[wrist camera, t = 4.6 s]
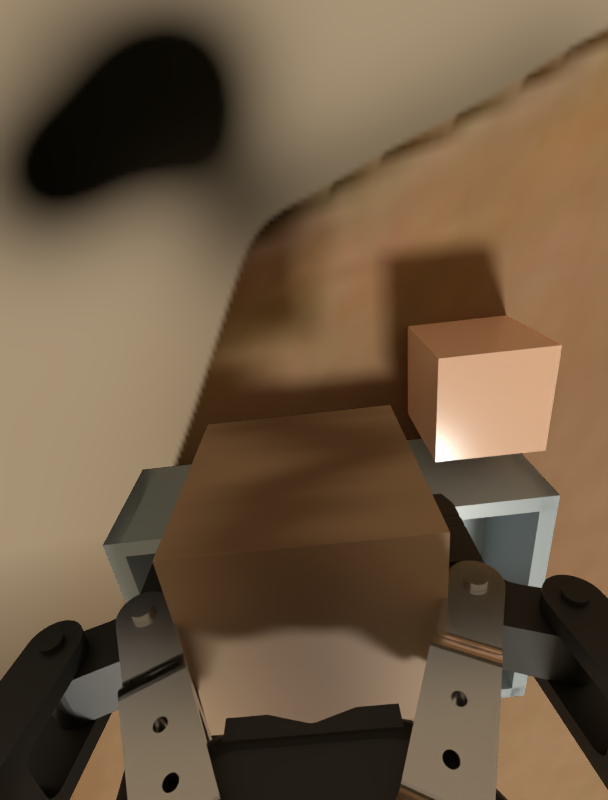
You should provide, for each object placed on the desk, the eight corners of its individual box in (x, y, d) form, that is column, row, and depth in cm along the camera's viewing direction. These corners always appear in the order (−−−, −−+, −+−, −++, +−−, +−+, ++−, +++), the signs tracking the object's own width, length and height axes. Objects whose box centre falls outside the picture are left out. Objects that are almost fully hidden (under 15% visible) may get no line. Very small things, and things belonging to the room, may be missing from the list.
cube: (505, 315, 22) (562, 345, 17) (496, 403, 24) (545, 450, 20) (407, 325, 22) (438, 358, 18) (407, 412, 24) (435, 462, 20)
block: (390, 404, 14) (449, 532, 9) (394, 546, 16) (443, 715, 11) (207, 424, 14) (152, 561, 9) (239, 561, 17) (211, 735, 11)
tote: (499, 429, 25) (560, 495, 19) (482, 607, 31) (524, 695, 25) (142, 469, 25) (103, 545, 19) (196, 638, 31) (177, 731, 26)
